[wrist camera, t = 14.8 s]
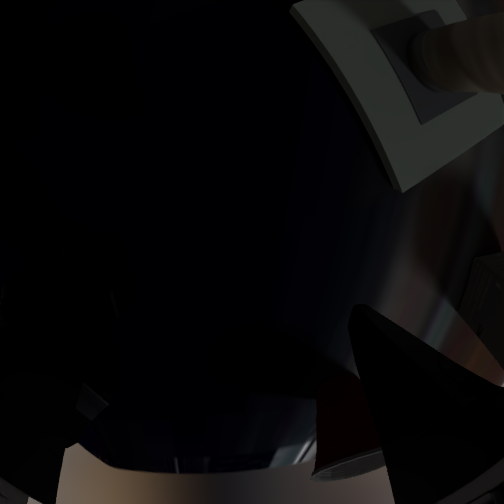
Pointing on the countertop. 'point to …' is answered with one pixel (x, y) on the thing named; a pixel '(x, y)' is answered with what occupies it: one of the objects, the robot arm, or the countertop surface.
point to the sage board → (398, 82)
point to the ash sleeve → (460, 56)
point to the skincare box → (486, 303)
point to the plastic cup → (345, 431)
